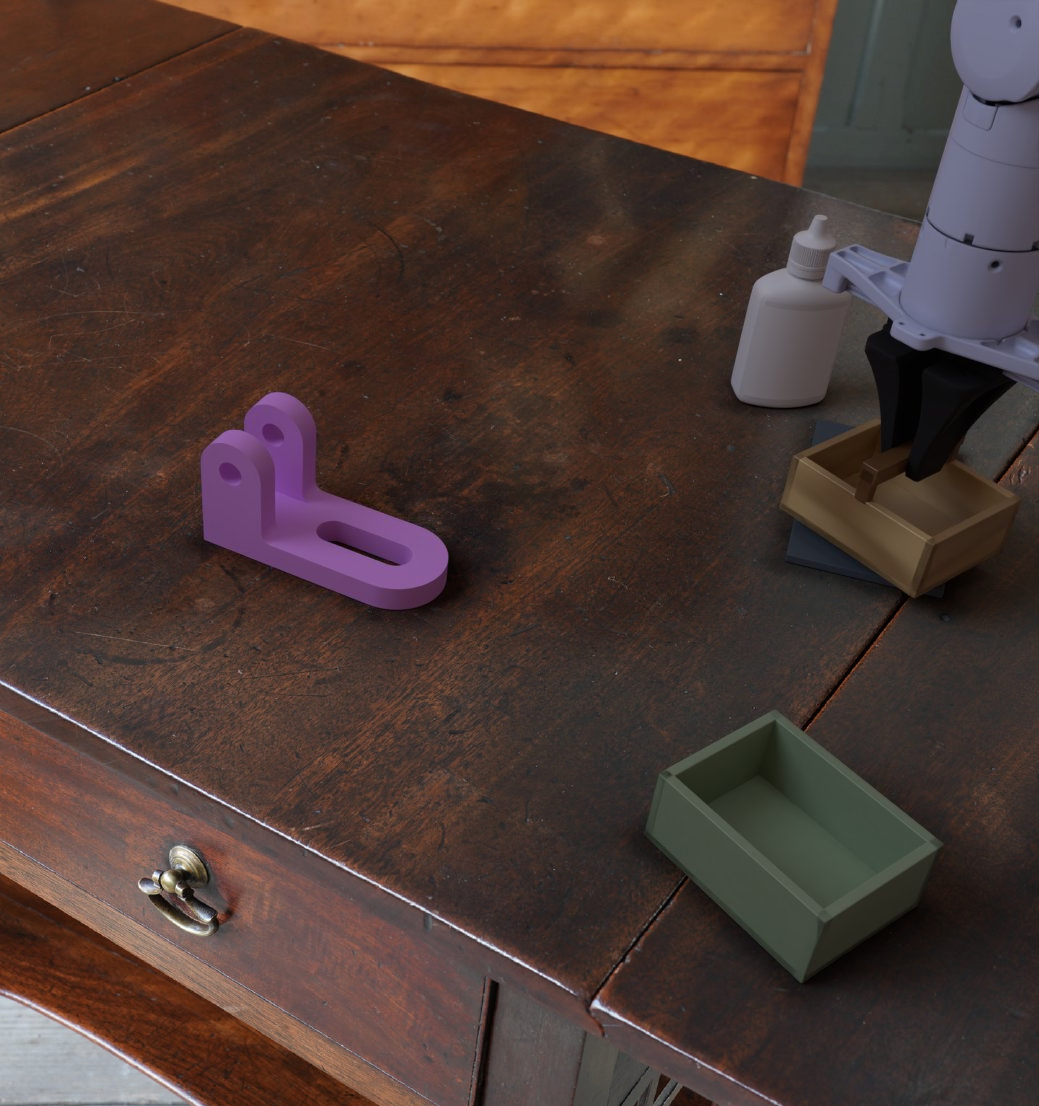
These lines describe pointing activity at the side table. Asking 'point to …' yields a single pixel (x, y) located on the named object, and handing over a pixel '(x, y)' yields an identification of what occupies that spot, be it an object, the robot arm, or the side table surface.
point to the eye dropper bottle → (792, 328)
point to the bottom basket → (790, 843)
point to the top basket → (898, 509)
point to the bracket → (309, 514)
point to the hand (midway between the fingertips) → (910, 465)
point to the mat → (821, 552)
